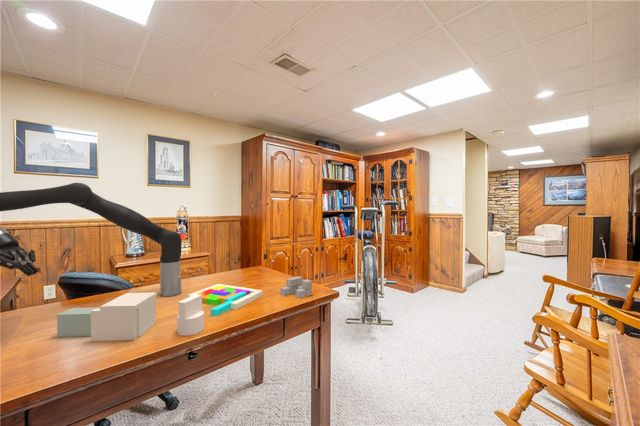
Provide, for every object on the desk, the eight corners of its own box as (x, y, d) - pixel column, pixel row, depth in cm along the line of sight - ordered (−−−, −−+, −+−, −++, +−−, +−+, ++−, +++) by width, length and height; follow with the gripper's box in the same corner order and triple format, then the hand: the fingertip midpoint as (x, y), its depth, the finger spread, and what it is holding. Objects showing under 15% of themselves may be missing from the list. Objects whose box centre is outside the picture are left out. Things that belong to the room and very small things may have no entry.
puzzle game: (218, 288, 150) (170, 307, 123) (218, 283, 150) (170, 301, 123) (262, 296, 139) (221, 318, 111) (263, 290, 139) (221, 311, 111)
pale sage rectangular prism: (57, 337, 94) (57, 314, 93) (71, 329, 100) (71, 308, 99) (93, 335, 95) (93, 313, 94) (105, 328, 101) (105, 307, 100)
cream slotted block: (91, 341, 91) (90, 306, 90) (118, 323, 105) (118, 293, 104) (135, 340, 92) (135, 305, 92) (157, 322, 106) (156, 292, 106)
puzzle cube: (280, 294, 140) (280, 279, 140) (298, 290, 148) (298, 276, 148) (293, 301, 131) (293, 285, 131) (312, 295, 139) (312, 280, 139)
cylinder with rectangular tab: (190, 323, 105) (189, 293, 105) (209, 326, 103) (209, 295, 103) (171, 333, 97) (171, 301, 96) (191, 337, 94) (191, 303, 94)
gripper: (-20, 234, 87) (22, 270, 89) (23, 230, 101) (58, 262, 102) (-37, 250, 87) (5, 286, 88) (8, 244, 100) (43, 276, 102)
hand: (33, 273), depth 95 cm, fingers closed
